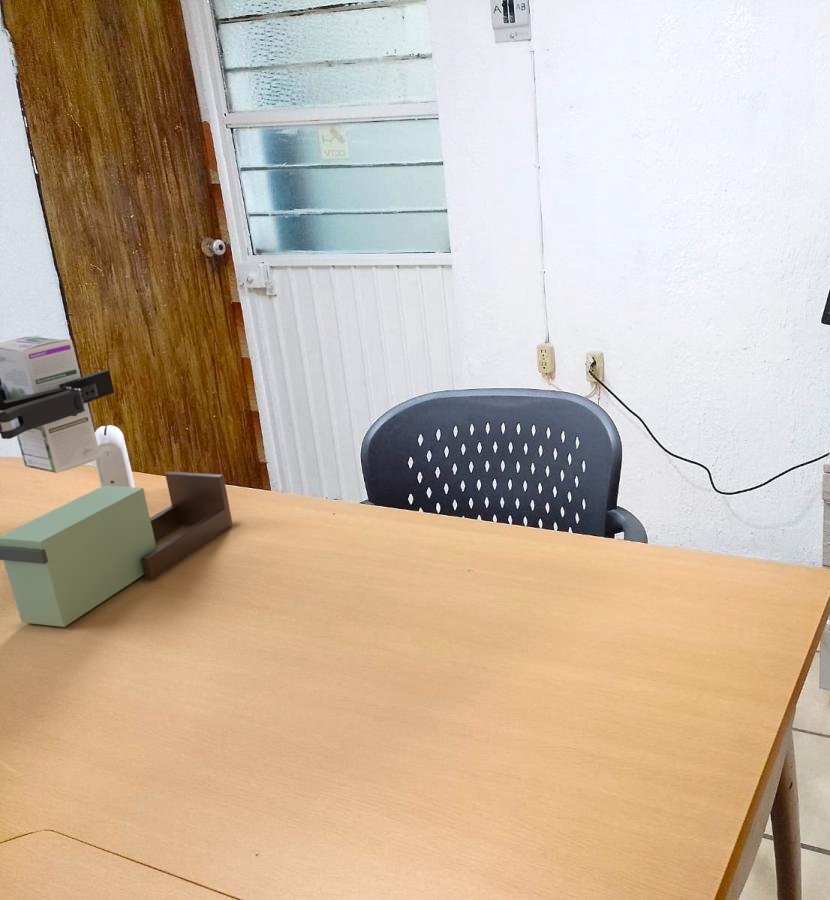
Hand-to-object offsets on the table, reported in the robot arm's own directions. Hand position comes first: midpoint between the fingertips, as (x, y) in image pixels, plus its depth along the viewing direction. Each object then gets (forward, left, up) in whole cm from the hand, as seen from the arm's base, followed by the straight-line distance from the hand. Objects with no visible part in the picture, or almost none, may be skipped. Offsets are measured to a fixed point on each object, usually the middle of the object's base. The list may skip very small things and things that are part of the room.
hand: (83, 380), depth 98 cm
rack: (-2, +9, -27) cm, 28 cm away
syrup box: (0, -5, -9) cm, 10 cm away
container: (-2, -4, -27) cm, 27 cm away
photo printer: (-21, +23, -27) cm, 41 cm away
